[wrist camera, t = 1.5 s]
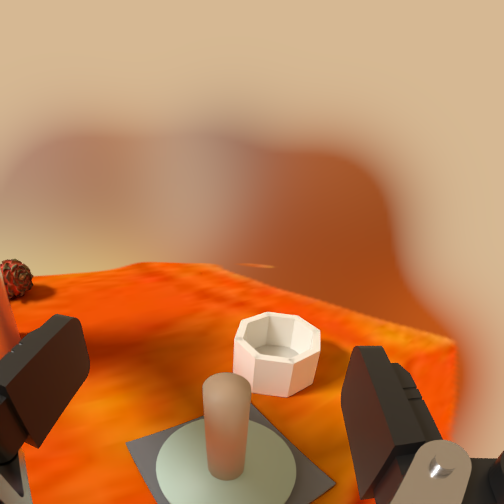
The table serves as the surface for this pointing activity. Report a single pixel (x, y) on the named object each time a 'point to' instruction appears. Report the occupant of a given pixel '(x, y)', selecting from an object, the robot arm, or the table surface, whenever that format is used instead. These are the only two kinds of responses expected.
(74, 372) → the robot arm
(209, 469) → the lid
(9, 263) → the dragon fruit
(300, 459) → the mat
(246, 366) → the bowl
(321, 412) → the table surface
